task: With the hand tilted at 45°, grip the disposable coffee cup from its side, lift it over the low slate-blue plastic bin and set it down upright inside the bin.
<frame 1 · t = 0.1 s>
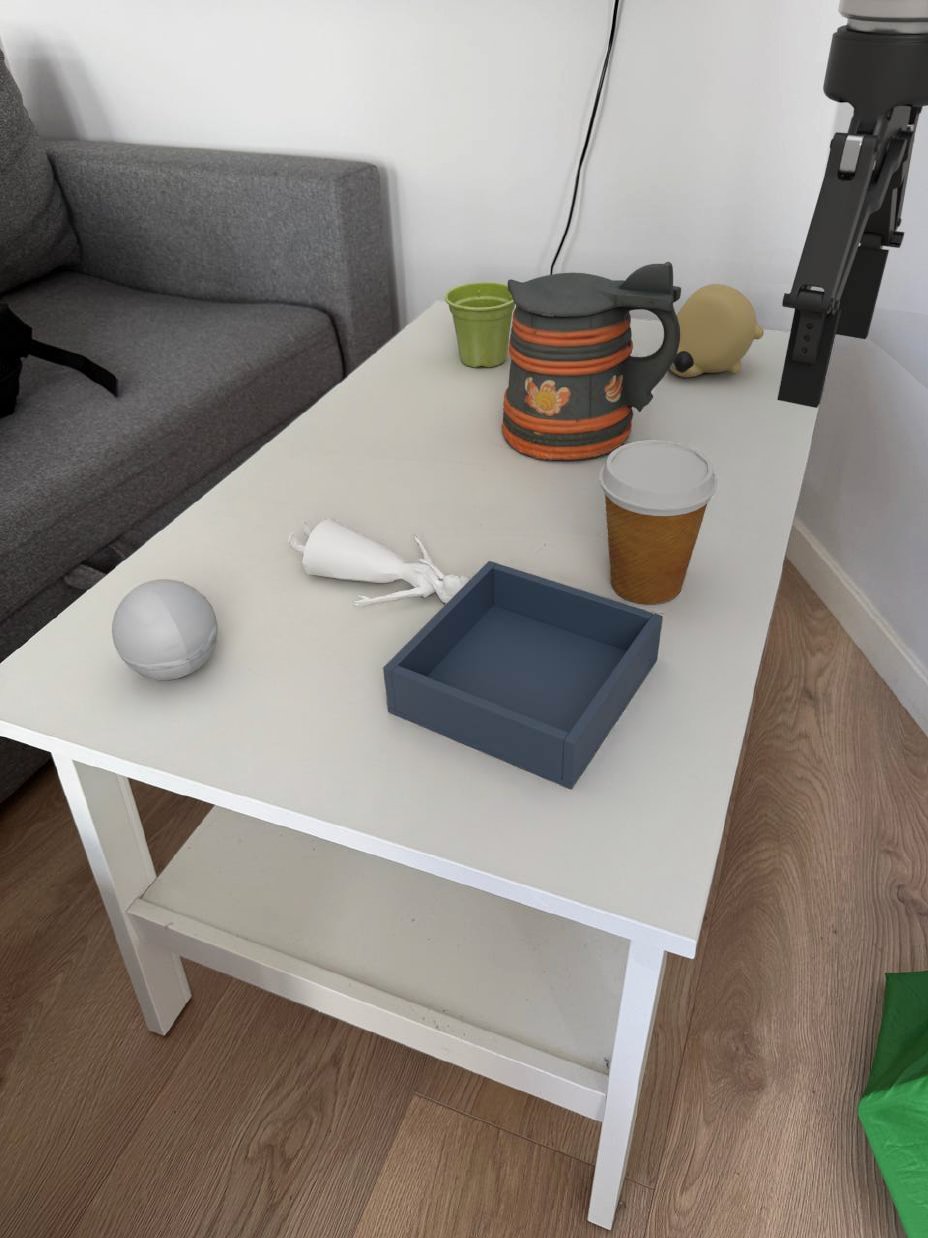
hand: (825, 366, 67), 21 cm above the table, tool pointing down, fingers open, 13 cm apart
bin: (526, 685, 72), on the table
plant pot: (483, 361, 122), on the table
bath bomb: (177, 669, 75), on the table
woman figurine: (383, 582, 84), on the table
lidded tankard: (584, 436, 104), on the table
toy pig: (705, 371, 117), on the table
disposable coffee cup: (645, 585, 82), on the table
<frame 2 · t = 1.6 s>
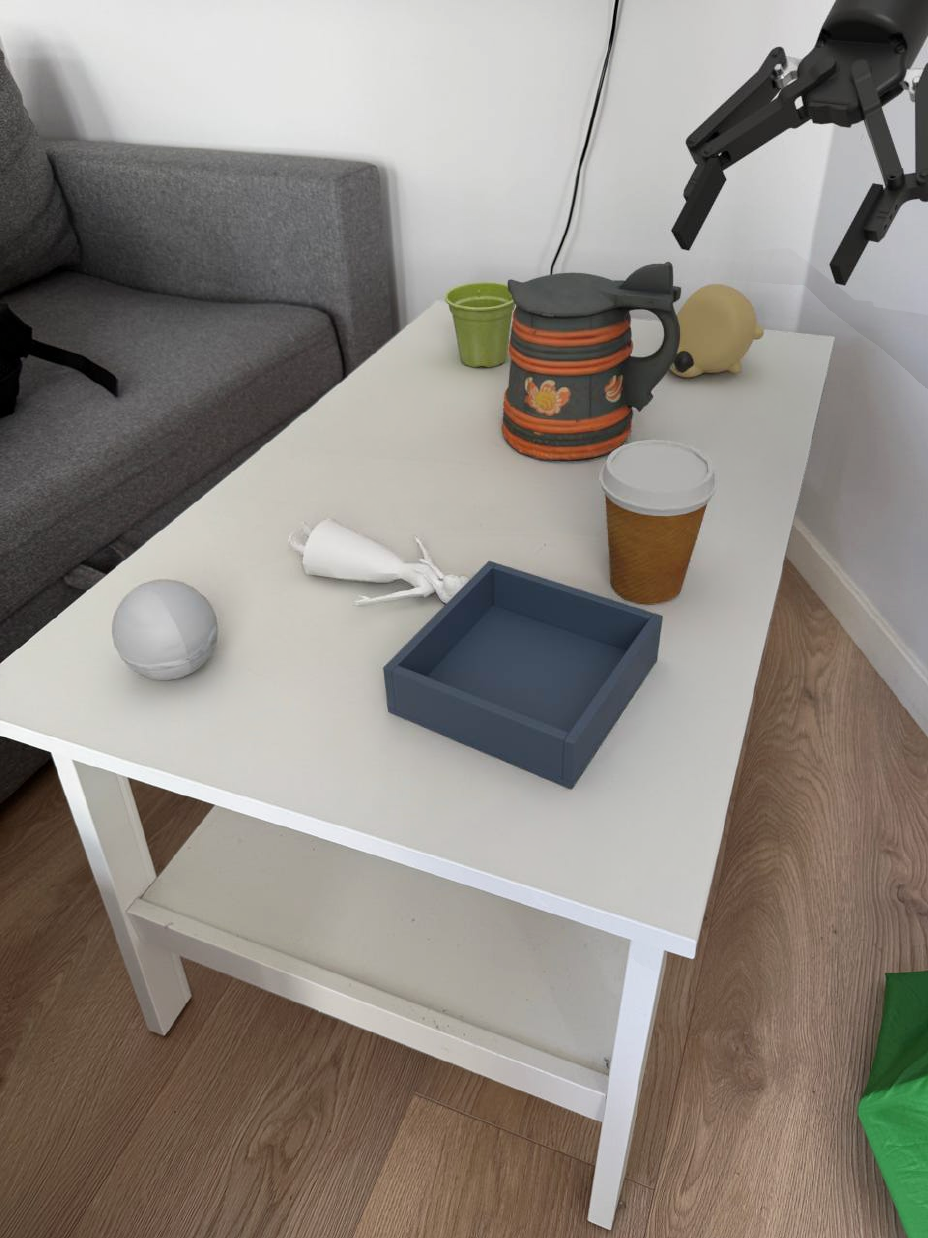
hand: (754, 257, 71), 26 cm above the table, tool tilted 45°, fingers open, 13 cm apart
nothing on the table moved.
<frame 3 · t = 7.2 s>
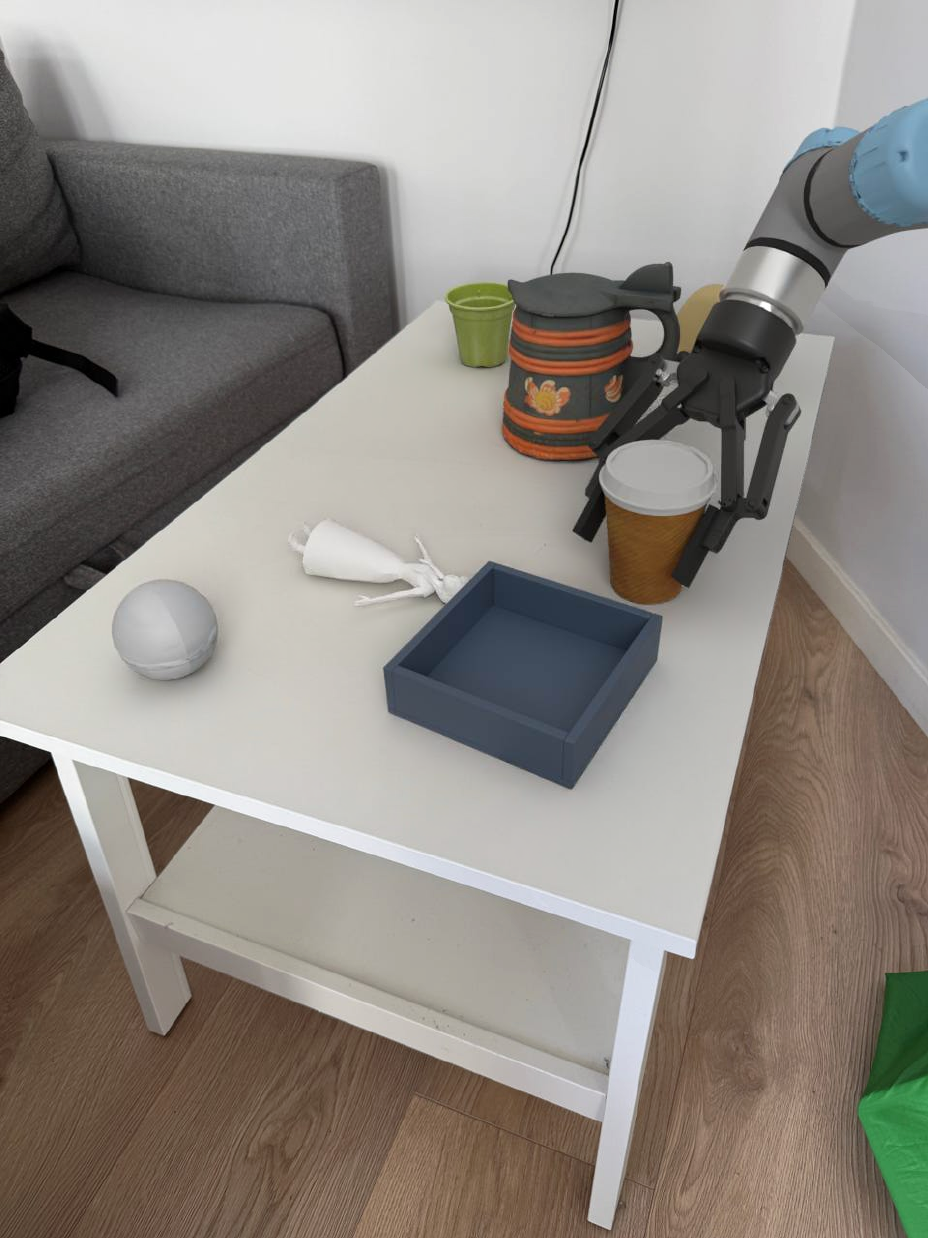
hand: (629, 558, 77), 4 cm above the table, tool tilted 45°, fingers closed on disposable coffee cup, 9 cm apart
disposable coffee cup: (645, 585, 82), on the table, touching gripper
everything else where it was.
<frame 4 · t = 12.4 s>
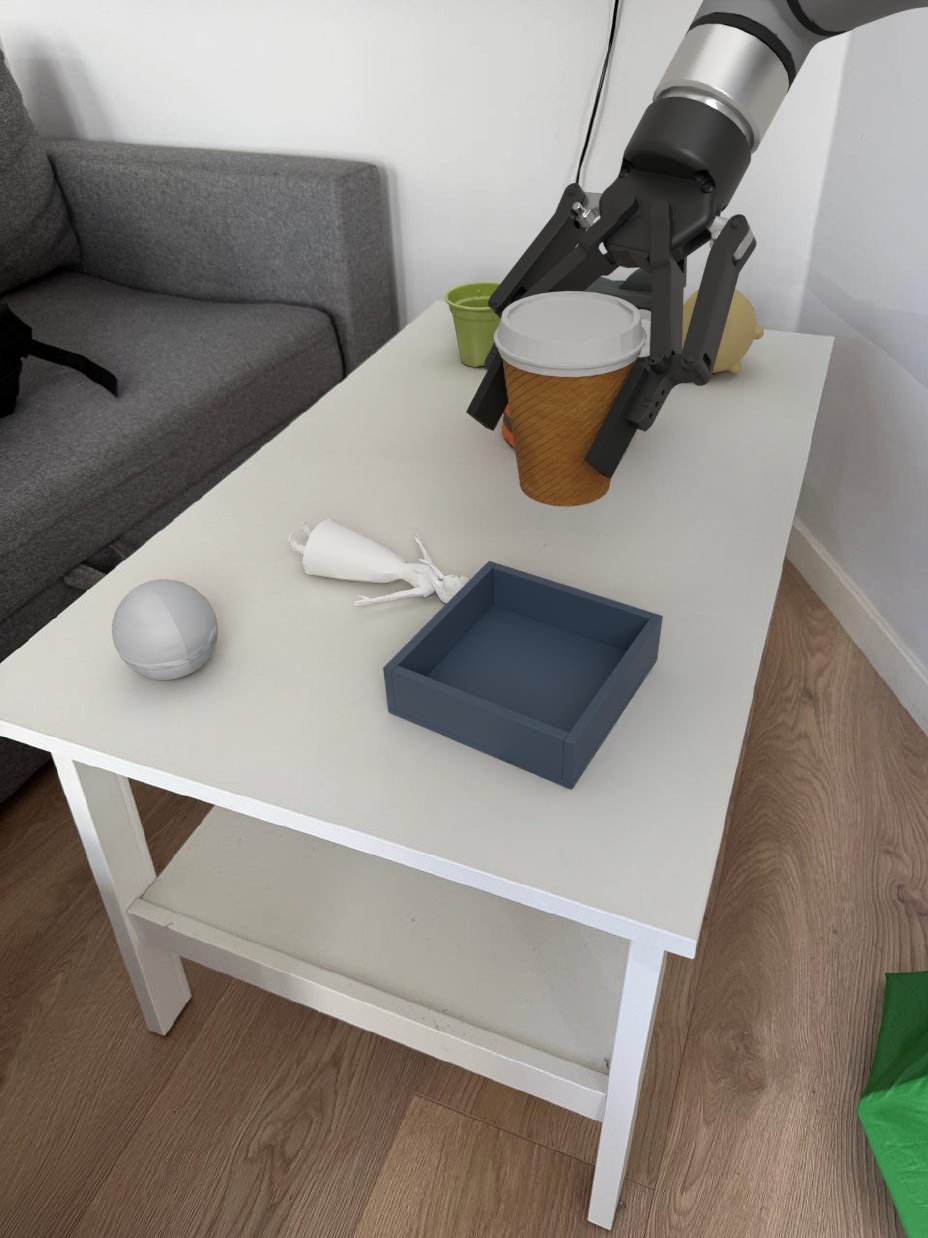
hand: (536, 444, 60), 21 cm above the table, tool tilted 45°, fingers closed on disposable coffee cup, 9 cm apart
disposable coffee cup: (564, 486, 64), point 16 cm above the table, touching gripper
everything else where it was.
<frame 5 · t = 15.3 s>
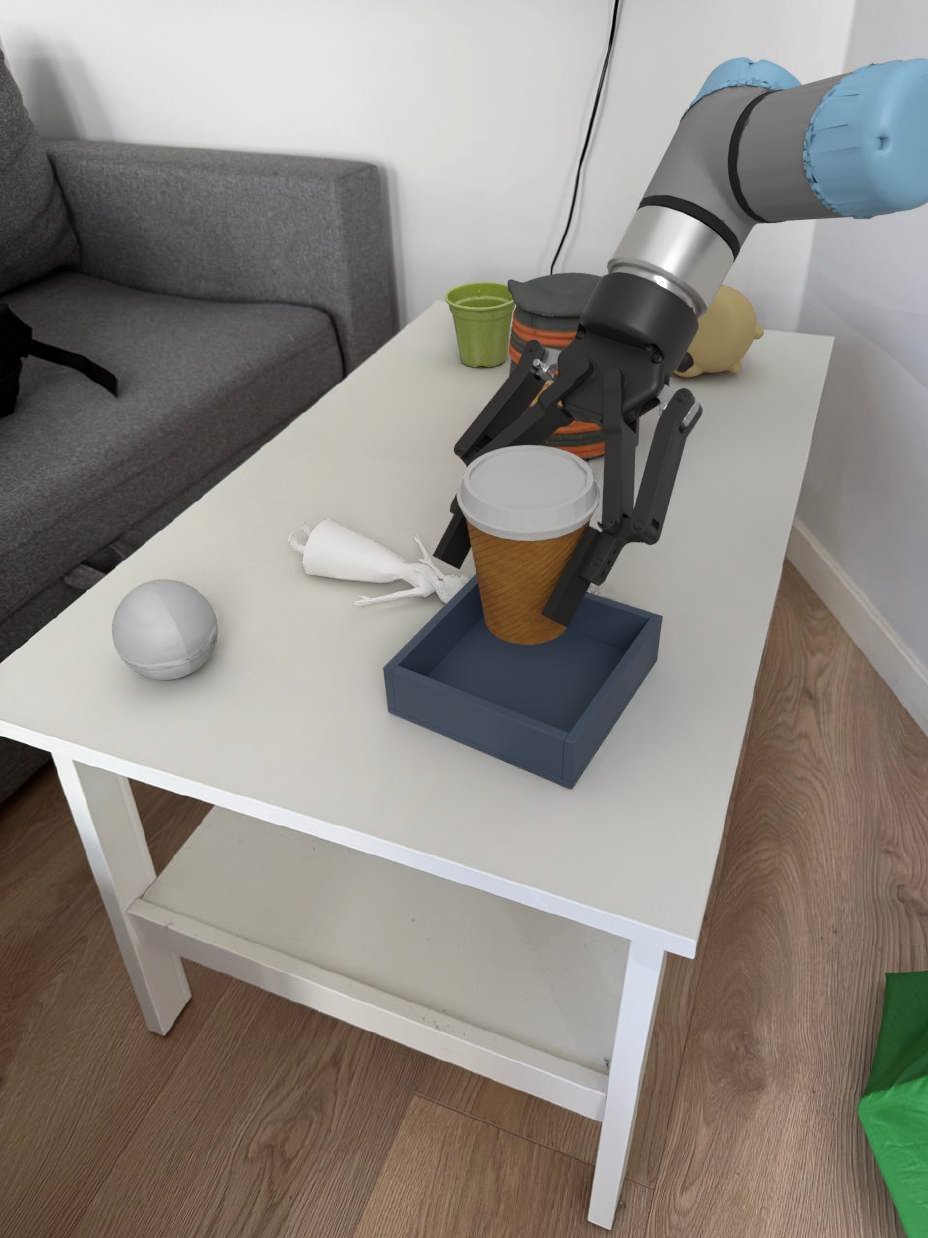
hand: (497, 590, 63), 11 cm above the table, tool tilted 45°, fingers closed on disposable coffee cup, 9 cm apart
disposable coffee cup: (526, 620, 68), point 7 cm above the table, touching gripper
everything else where it was.
when the fingers open (5 cm above the table, at t = 17.5 s): disposable coffee cup stays where it is, resting on bin.
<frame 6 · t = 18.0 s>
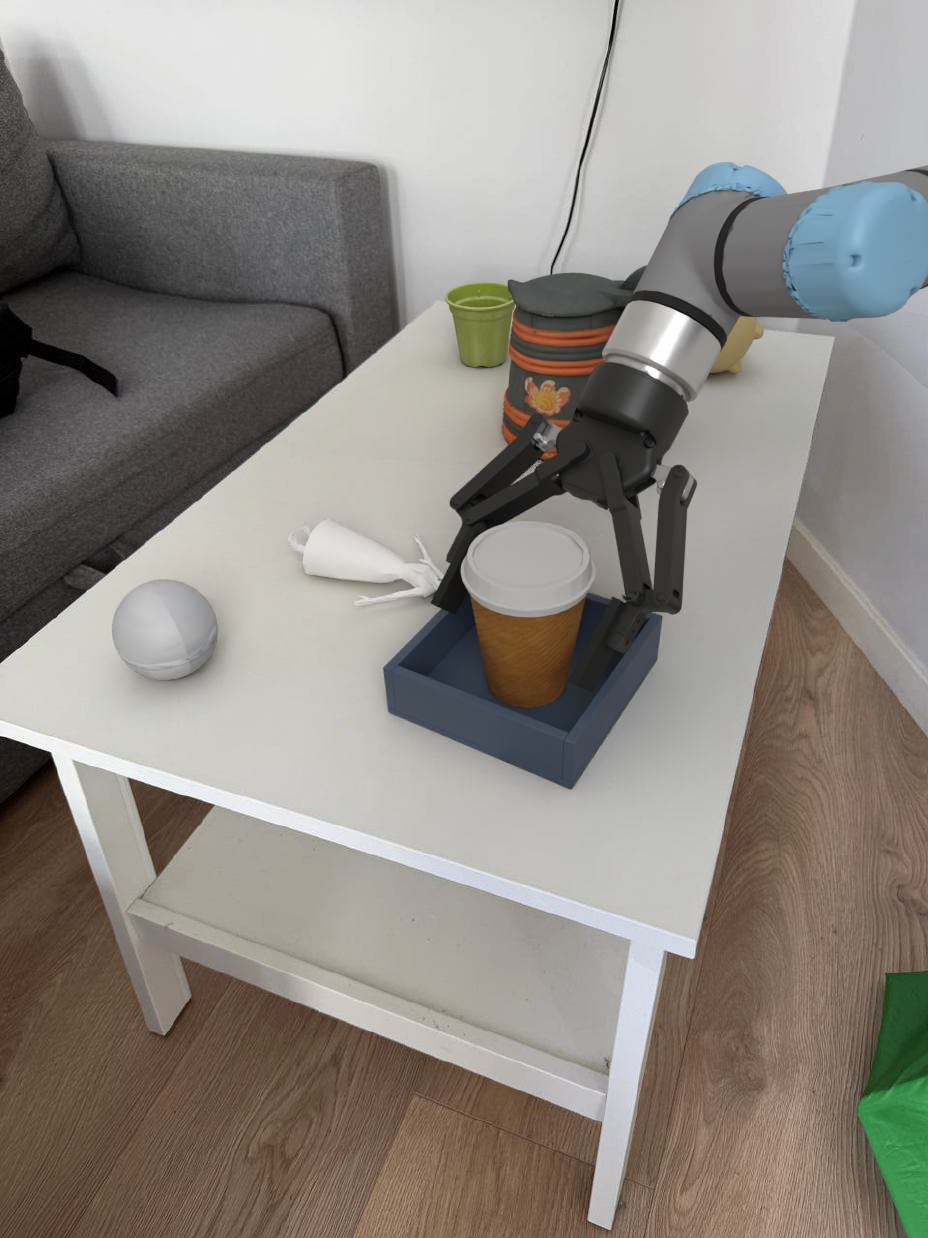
hand: (507, 646, 67), 6 cm above the table, tool tilted 45°, fingers open, 13 cm apart
disposable coffee cup: (526, 682, 72), resting on bin
everything else where it was.
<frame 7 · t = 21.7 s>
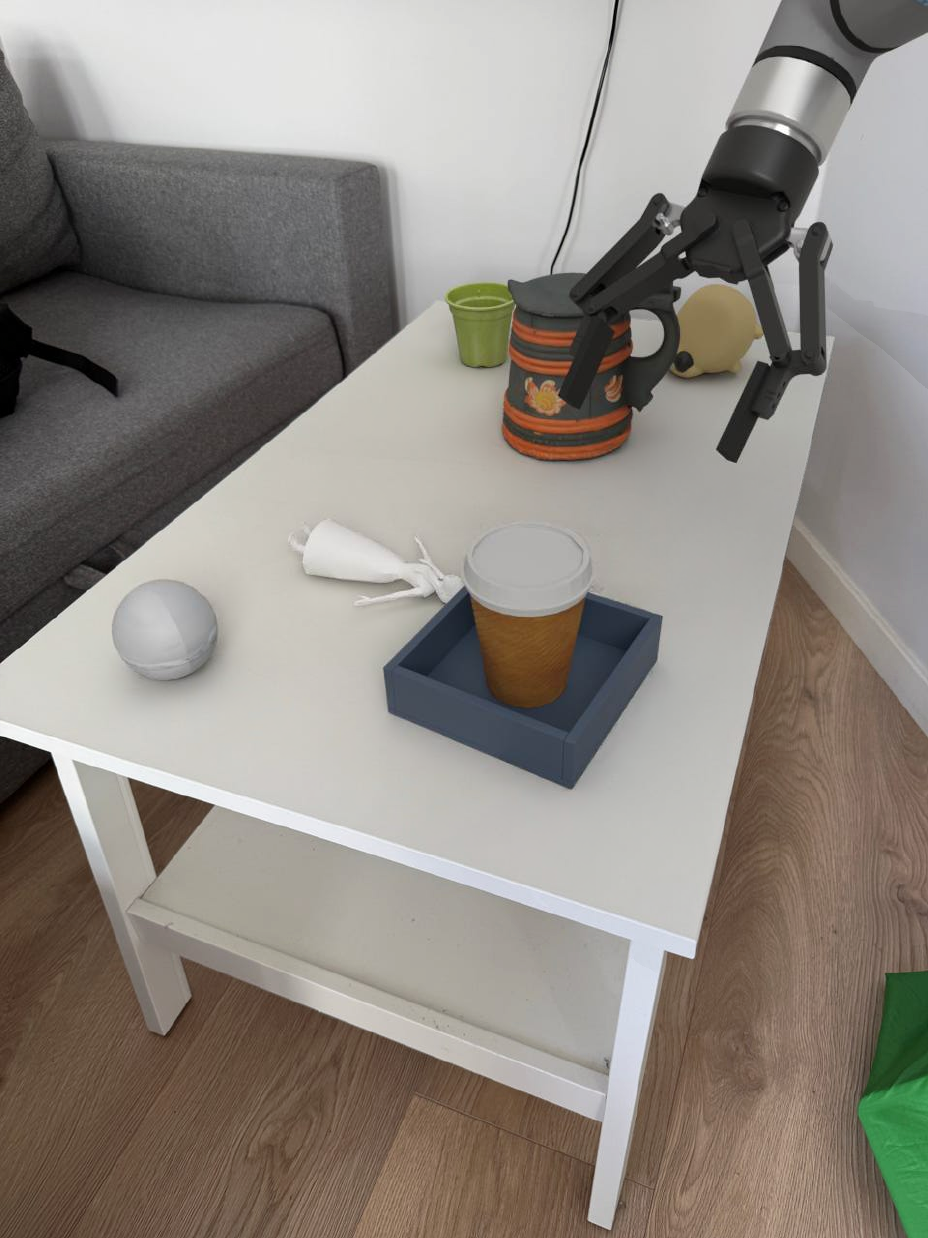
hand: (643, 428, 67), 18 cm above the table, tool tilted 40°, fingers open, 13 cm apart
nothing on the table moved.
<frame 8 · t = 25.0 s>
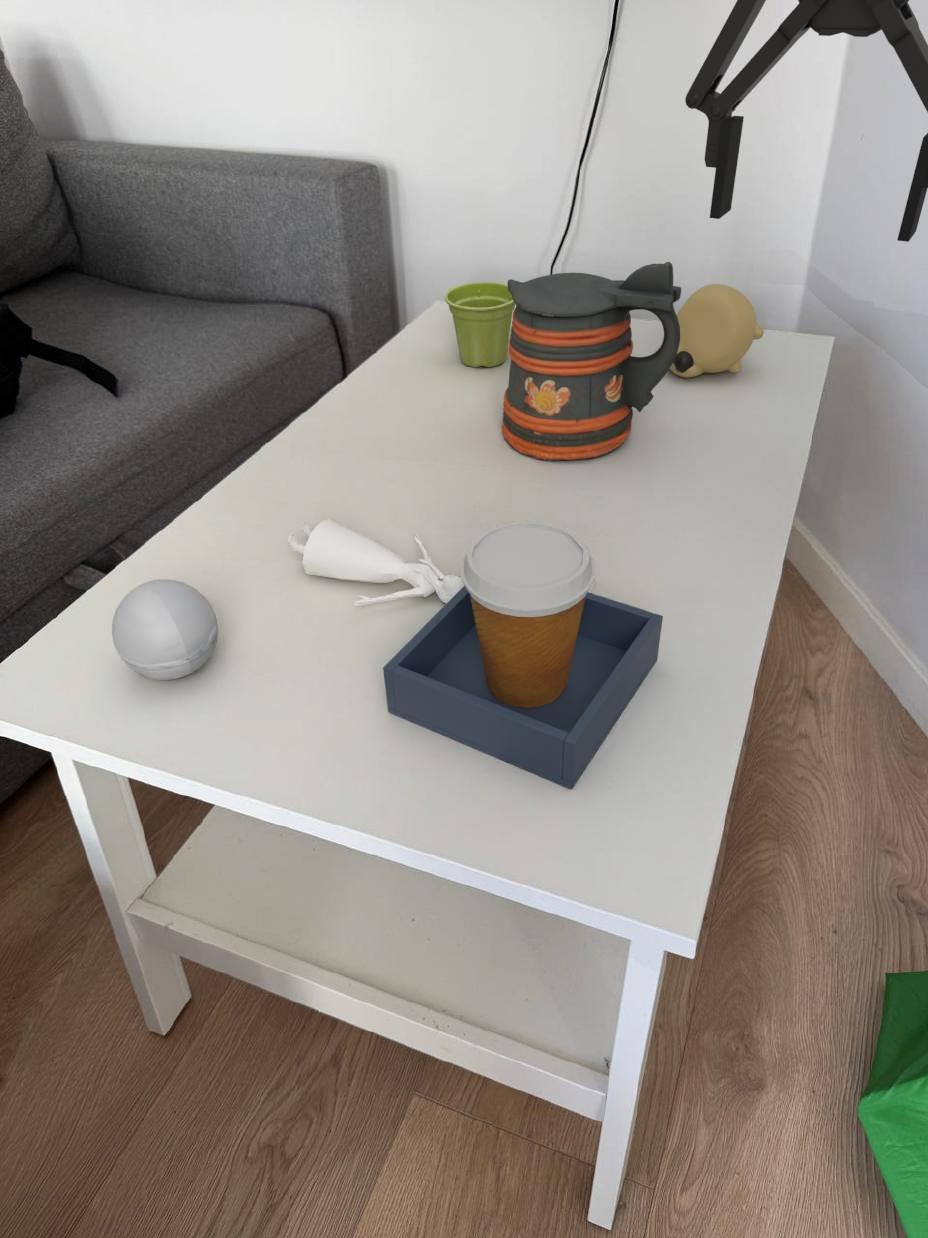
hand: (809, 224, 68), 29 cm above the table, tool pointing down, fingers open, 13 cm apart
nothing on the table moved.
at the end: disposable coffee cup inside the target area in the bin (0.1 cm from its centre), point 0.4 cm above the bin's base; disposable coffee cup tilted 0°; the gripper is holding nothing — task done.
